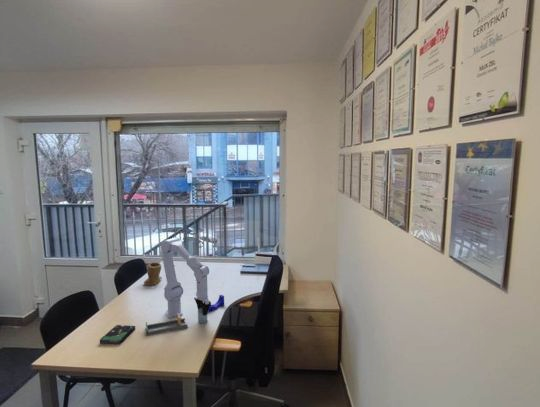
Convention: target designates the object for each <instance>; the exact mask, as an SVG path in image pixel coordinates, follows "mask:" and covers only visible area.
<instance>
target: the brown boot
mask: <svg viewBox="0 0 540 407" xmlns="http://www.w3.org/2000/svg"><path fill="white" fill-rule="evenodd" d="M161 270H162V264H161V263H160V262H157V261H153V262H150V263H148V265H147V270H146V271H147V272H146V273H147V276H148V278H147V279H146V280H144V282H143V284H144V285H147V286H152V285H154V286H155V285H156V284H158V283H159V282H160V281H161V280H162V278H163V277H161V276H160V273H161Z"/></svg>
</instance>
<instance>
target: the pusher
mask: <svg viewBox="0 0 540 407" xmlns="http://www.w3.org/2000/svg"><path fill="white" fill-rule="evenodd" d="M176 318H177V319H176V320H177V323H178V325H181V319H182V318H181V315H180V314H179V313H177V316H176Z"/></svg>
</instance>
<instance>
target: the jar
mask: <svg viewBox="0 0 540 407" xmlns="http://www.w3.org/2000/svg"><path fill="white" fill-rule="evenodd" d="M207 322H208V314H207V315H205V316H204V315H203V312H202V307H201V308H199V309H198V308H197V323H198V324H206V323H207Z"/></svg>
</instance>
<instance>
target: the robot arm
mask: <svg viewBox="0 0 540 407" xmlns="http://www.w3.org/2000/svg"><path fill="white" fill-rule="evenodd" d="M159 246H160V252H161V258H162V263H163V269H164V274H165V279H166V282H167V283H166V285H165V286H164V288H163V290H164V292H163V297H164V299H165V300H166V301H167V309H166V315H167V317H168V318H175V317H177V313H179V314H180V316H182V315H183V312H182V304H181V303H182V302H181V298H182V296H183V294H184V288H183V287H182V284H181V282H179V281H178V279H177V274H176V269H175V263H174V258H173V254H174V253H176V252H177V253H178V254H179V256H181V257H182V258H183V259H184V260H186V261H185V262H186V265H187V266H188V268H190V269H191V270H192V271H193V275H194V277H195V282H196V292H195V297H194V298H193V299H194V301H195V303H196V308H197V310H198V309H199V308H201V307H202V312H203V315H204V316H205V315H207V316H208V314H209V311H208V310H209V307H210V305H212V302H211V301H210V300H209V295H208V276H209V274H210V268H209V267H208V266H207V265H206V264H202V263H201V261H200V260H199V259H198V258H197V257H195V256H194V255H193V256H192V255H191V253H189V251H188V250H187V249H186V248H185V246H184V245H183V241H182V240H181V239H180V238H179V237H178V236H175V237H173V238H169V239H164V240H163V241H162V242H161V243H160V244H159ZM209 301H210V302H209Z"/></svg>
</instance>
